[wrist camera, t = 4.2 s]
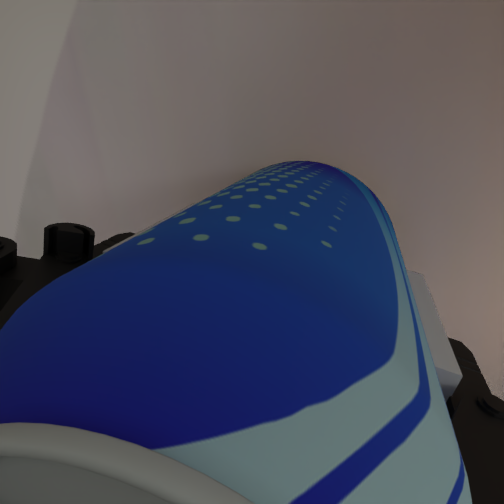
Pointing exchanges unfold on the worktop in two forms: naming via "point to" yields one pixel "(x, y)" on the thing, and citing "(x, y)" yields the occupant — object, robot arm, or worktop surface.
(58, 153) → the worktop surface
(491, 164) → the worktop surface
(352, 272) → the beer can
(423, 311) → the robot arm
